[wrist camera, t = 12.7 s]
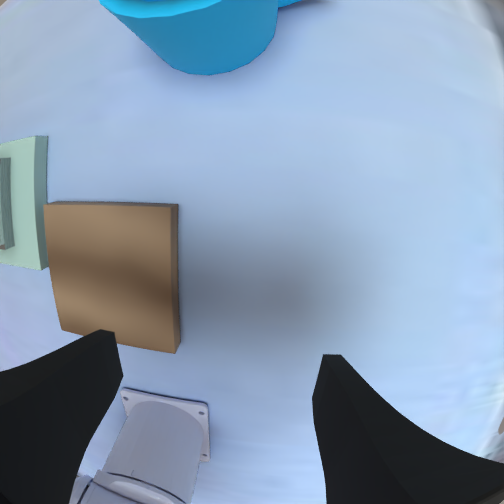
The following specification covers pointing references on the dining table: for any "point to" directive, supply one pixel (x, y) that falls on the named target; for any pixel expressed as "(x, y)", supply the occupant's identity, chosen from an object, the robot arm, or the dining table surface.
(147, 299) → the stand
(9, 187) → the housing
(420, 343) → the dining table surface
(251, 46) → the mug
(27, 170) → the stand
